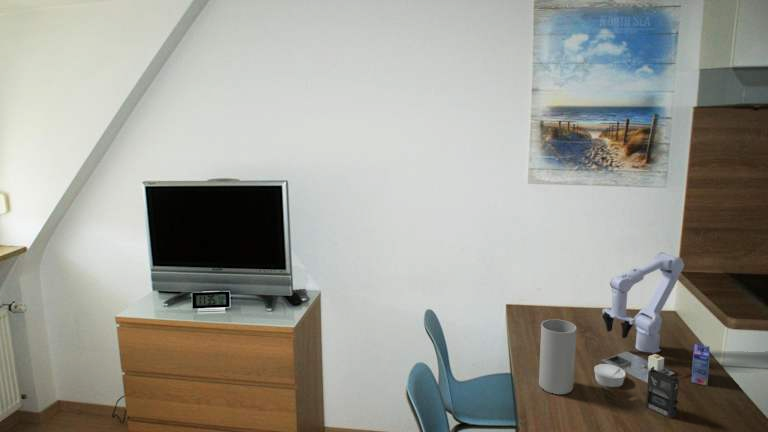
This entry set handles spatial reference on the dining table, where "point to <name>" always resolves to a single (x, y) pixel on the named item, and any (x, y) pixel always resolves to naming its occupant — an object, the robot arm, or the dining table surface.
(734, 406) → the dining table surface
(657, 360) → the plug
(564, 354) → the cylinder vase
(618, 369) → the ramekin
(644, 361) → the switch plate
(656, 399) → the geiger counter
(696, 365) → the ink cartridge box
